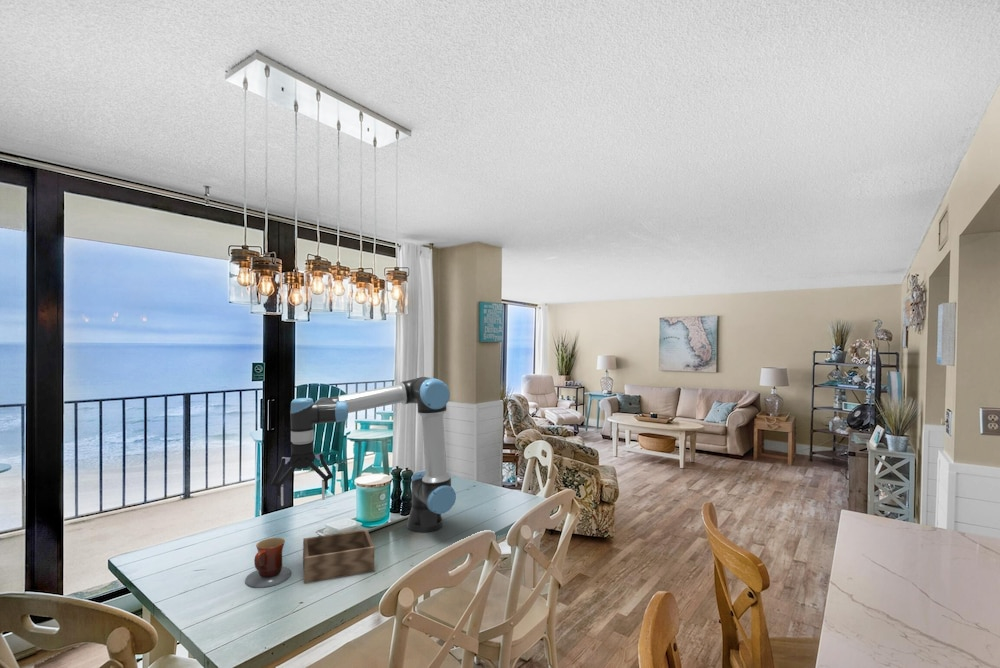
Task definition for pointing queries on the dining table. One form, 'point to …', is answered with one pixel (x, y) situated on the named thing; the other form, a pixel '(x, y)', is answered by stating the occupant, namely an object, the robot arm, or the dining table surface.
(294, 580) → the dining table surface
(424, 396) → the robot arm
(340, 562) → the box
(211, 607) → the dining table surface
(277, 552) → the mug
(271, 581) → the coaster
